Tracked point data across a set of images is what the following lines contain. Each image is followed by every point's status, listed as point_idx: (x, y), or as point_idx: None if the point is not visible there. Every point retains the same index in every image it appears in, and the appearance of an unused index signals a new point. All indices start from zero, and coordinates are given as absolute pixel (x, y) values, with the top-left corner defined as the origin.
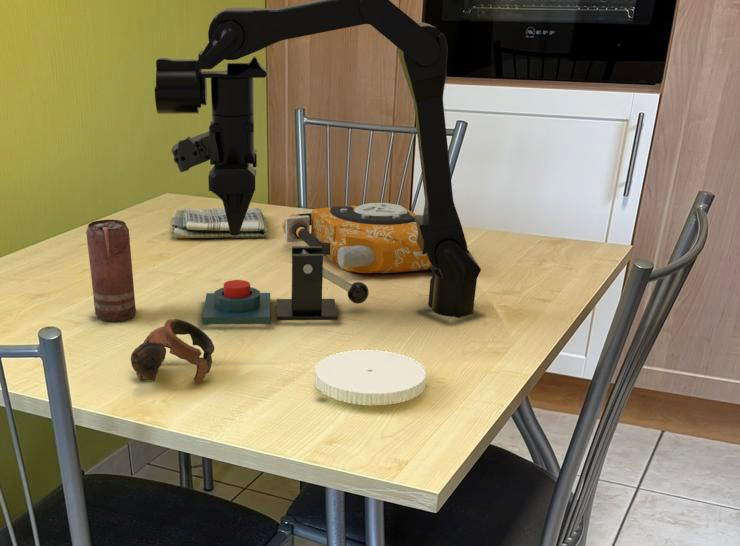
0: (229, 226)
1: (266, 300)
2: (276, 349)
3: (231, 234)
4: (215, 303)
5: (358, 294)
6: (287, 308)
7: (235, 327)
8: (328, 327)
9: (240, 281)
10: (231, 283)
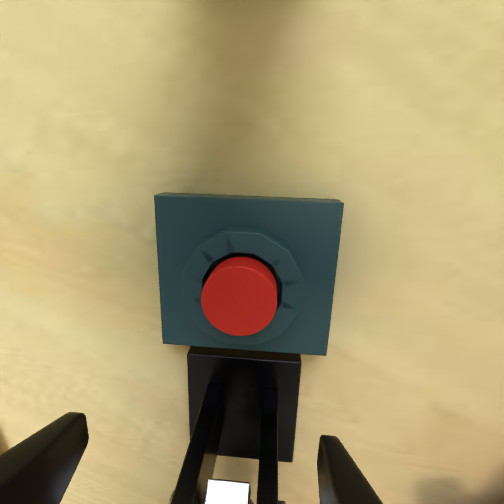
0: (16, 448)
1: (270, 344)
2: (64, 332)
3: (66, 416)
4: (222, 230)
5: None
6: (236, 377)
7: None
8: (178, 424)
9: (260, 312)
10: (243, 288)
